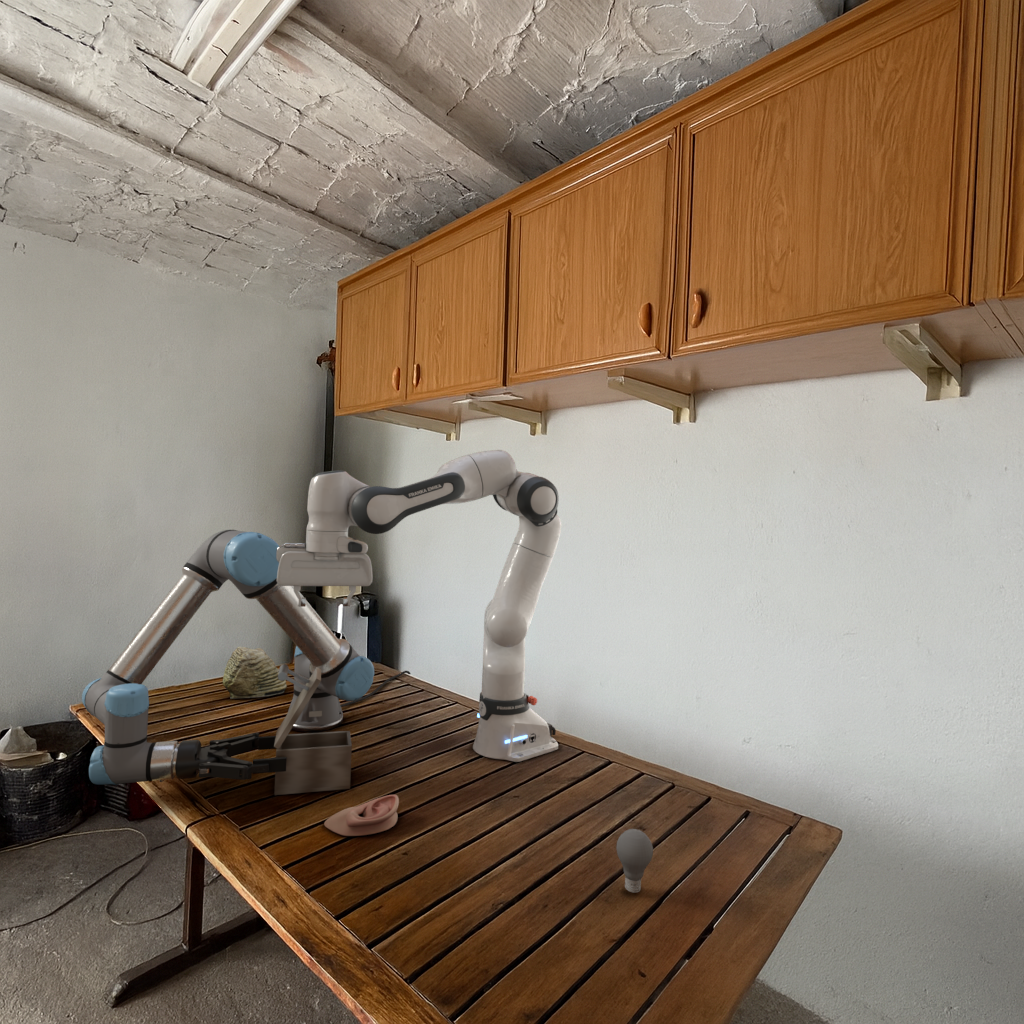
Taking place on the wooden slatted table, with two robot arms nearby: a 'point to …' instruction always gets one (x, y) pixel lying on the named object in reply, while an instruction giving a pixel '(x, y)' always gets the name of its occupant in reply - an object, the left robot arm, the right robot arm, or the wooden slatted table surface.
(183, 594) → the left robot arm
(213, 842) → the wooden slatted table surface
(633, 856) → the light bulb
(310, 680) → the lid
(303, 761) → the chest
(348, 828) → the anatomical model
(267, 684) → the fossil
